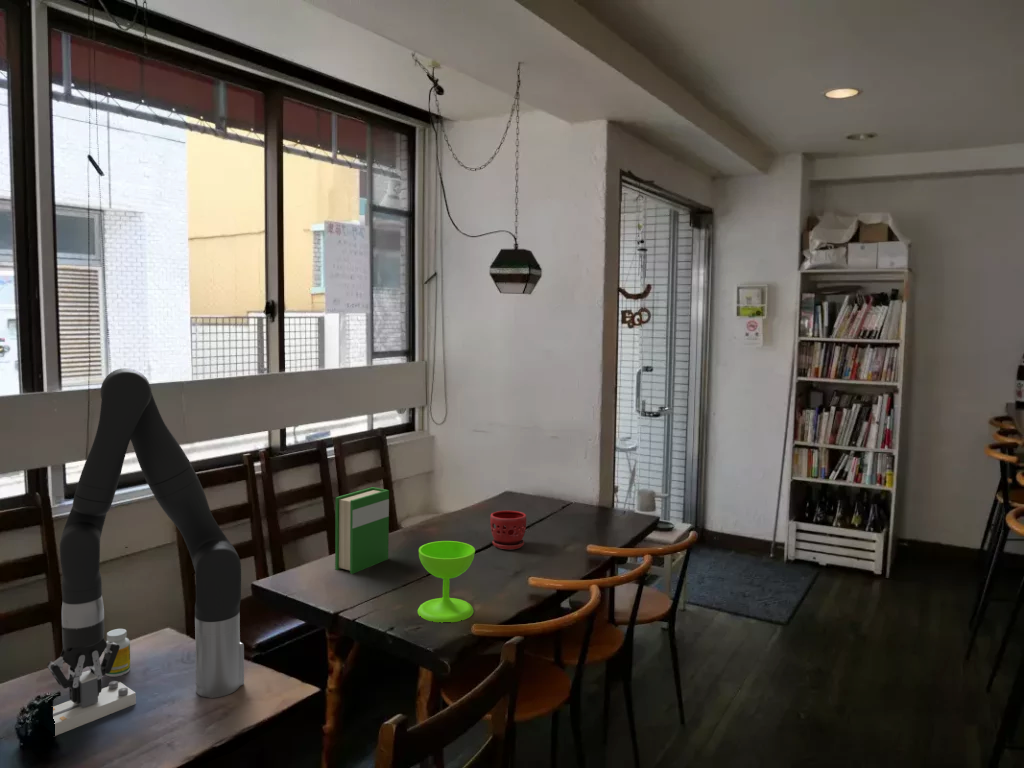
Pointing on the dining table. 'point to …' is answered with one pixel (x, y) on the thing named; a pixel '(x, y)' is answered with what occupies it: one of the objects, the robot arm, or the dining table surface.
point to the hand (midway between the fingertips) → (85, 698)
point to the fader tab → (88, 689)
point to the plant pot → (508, 529)
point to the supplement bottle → (119, 652)
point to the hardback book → (361, 529)
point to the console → (93, 707)
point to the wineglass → (446, 579)
